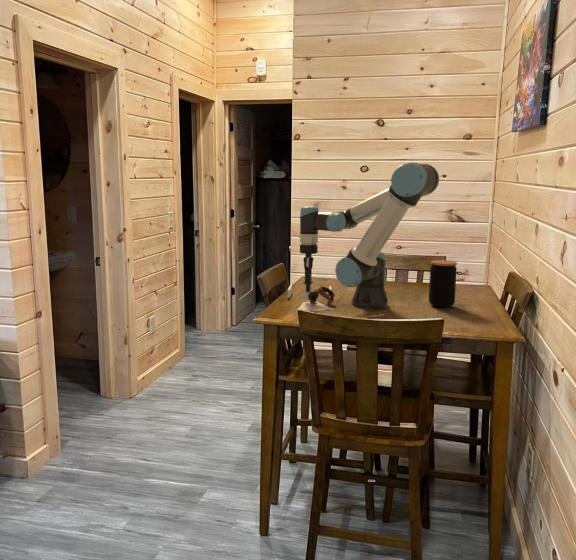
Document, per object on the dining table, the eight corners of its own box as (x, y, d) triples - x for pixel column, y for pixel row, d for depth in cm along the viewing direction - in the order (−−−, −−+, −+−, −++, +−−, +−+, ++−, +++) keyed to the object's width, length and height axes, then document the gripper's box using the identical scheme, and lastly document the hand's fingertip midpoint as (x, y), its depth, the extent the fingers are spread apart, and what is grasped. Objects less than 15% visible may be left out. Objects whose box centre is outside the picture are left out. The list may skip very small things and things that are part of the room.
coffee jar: (459, 306, 227) (461, 263, 224) (434, 307, 225) (437, 264, 222) (447, 301, 237) (450, 259, 234) (424, 301, 235) (426, 260, 232)
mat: (334, 309, 222) (334, 308, 222) (298, 313, 215) (298, 312, 215) (315, 301, 236) (315, 301, 236) (281, 304, 229) (281, 304, 229)
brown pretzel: (289, 293, 252) (289, 285, 251) (331, 294, 250) (331, 285, 249) (287, 299, 240) (287, 290, 239) (331, 300, 238) (331, 291, 238)
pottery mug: (318, 300, 237) (327, 285, 234) (331, 314, 231) (340, 298, 228) (299, 298, 228) (308, 282, 226) (312, 312, 223) (322, 296, 220)
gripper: (300, 241, 235) (300, 295, 239) (298, 245, 222) (297, 302, 227) (318, 242, 234) (317, 295, 239) (317, 245, 222) (315, 302, 226)
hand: (307, 298), depth 233 cm, fingers closed
